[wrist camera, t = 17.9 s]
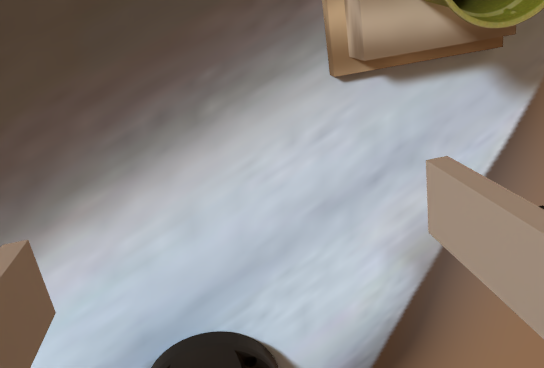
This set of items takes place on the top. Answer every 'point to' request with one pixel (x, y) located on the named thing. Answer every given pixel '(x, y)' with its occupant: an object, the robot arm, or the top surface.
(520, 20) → the plant pot
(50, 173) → the top surface
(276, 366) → the robot arm
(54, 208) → the top surface
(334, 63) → the pedestal base
